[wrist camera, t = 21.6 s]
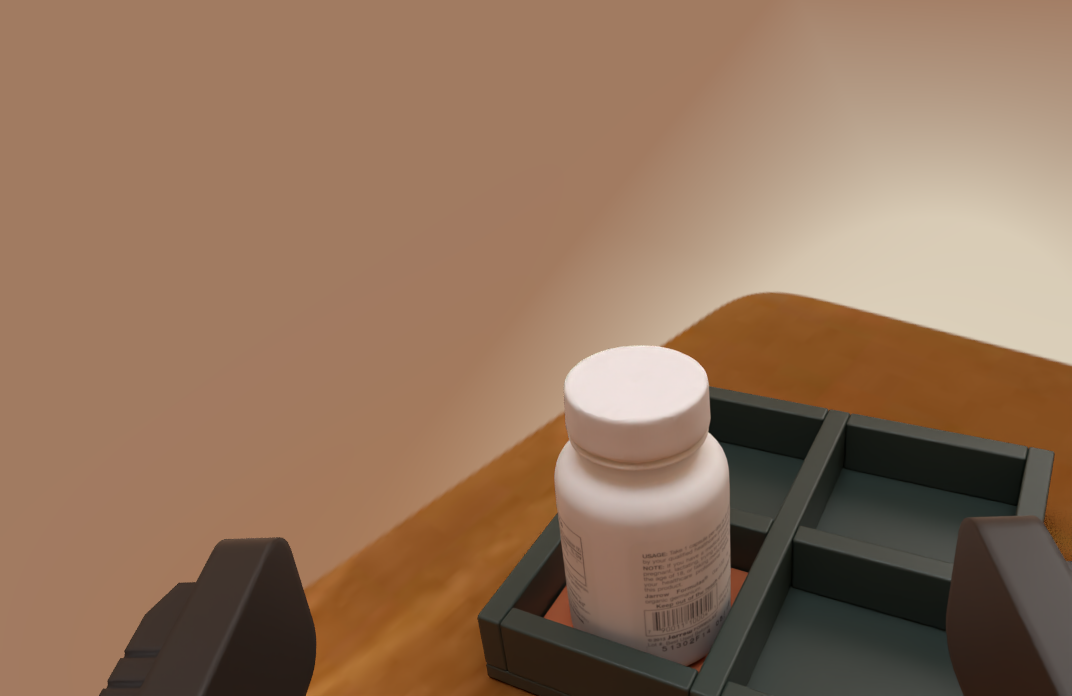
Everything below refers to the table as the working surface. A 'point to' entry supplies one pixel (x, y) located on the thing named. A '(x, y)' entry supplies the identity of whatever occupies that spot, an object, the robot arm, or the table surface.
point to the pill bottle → (644, 503)
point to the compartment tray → (795, 564)
